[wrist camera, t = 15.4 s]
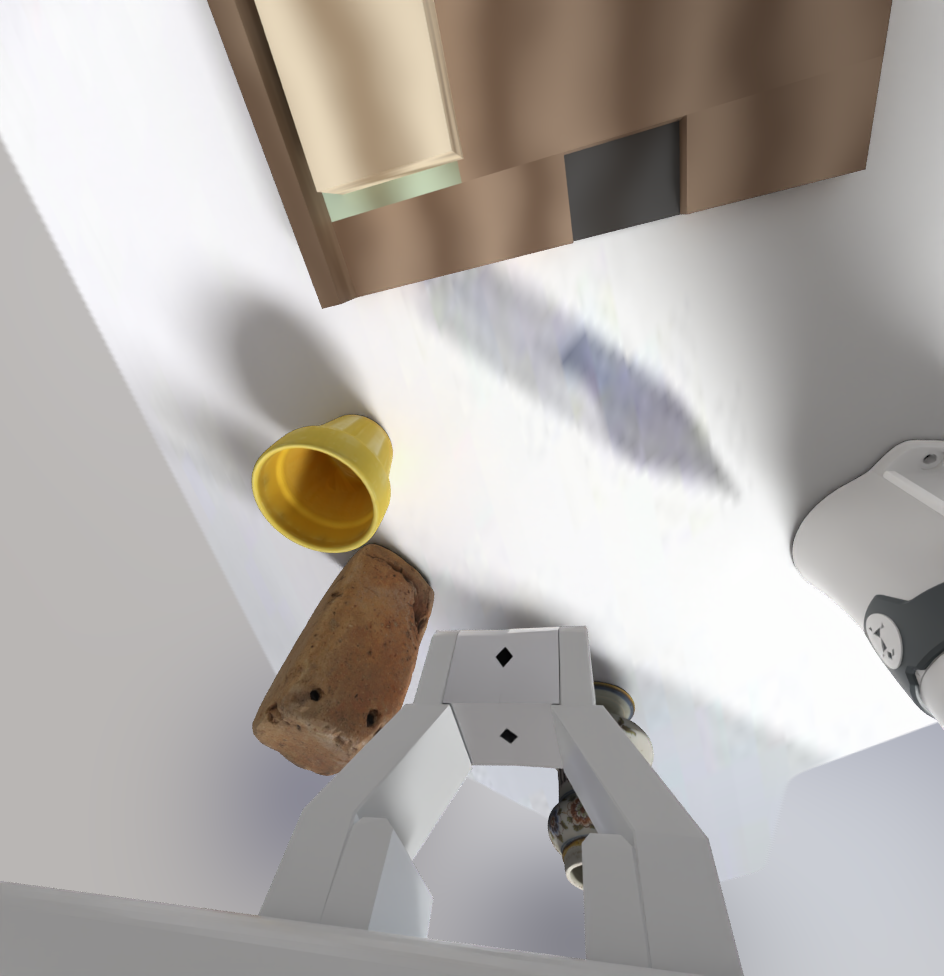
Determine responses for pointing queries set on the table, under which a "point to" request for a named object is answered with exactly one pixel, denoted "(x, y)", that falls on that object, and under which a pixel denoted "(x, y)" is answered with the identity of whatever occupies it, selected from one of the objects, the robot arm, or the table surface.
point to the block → (348, 664)
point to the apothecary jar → (569, 814)
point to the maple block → (364, 87)
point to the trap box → (582, 126)
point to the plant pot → (326, 483)
